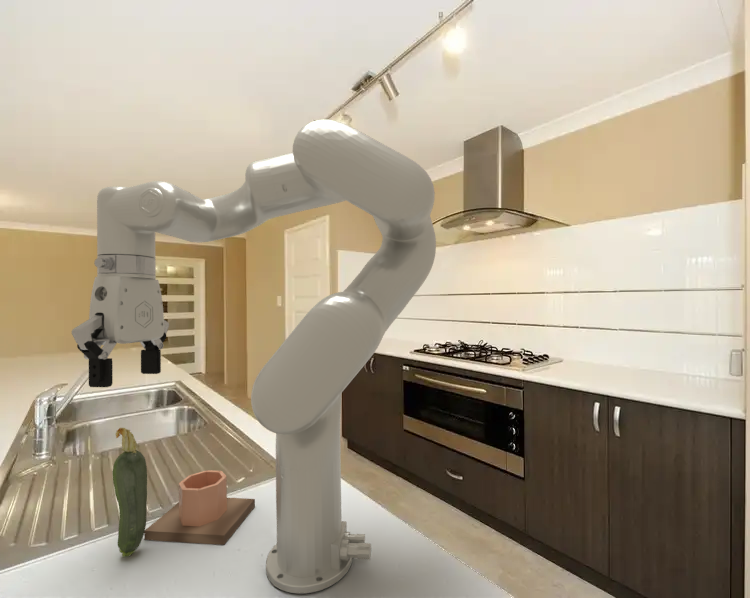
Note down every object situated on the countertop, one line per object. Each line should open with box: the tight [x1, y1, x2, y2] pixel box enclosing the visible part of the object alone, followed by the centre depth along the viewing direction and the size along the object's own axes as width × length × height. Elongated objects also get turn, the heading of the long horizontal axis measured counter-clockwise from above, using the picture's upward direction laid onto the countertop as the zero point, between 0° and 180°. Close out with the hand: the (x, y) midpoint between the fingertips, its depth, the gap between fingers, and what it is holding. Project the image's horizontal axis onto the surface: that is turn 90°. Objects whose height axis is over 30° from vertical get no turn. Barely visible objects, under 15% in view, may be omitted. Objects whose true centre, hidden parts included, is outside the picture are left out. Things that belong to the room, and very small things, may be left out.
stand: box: [143, 497, 256, 546], centre depth 65 cm, size 14×11×2 cm
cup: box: [178, 469, 228, 526], centre depth 65 cm, size 7×7×6 cm
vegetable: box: [111, 427, 148, 558], centre depth 56 cm, size 4×4×20 cm
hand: (127, 379), depth 56 cm, fingers open, 9 cm apart
